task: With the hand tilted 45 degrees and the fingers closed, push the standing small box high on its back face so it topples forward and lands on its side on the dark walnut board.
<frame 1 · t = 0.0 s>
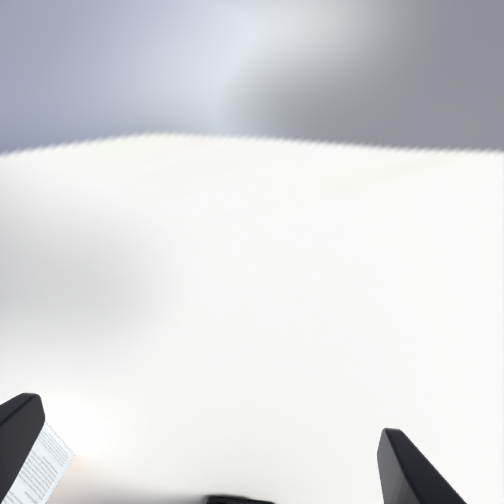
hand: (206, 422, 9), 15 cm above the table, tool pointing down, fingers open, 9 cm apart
small box: (27, 443, 32), on the table
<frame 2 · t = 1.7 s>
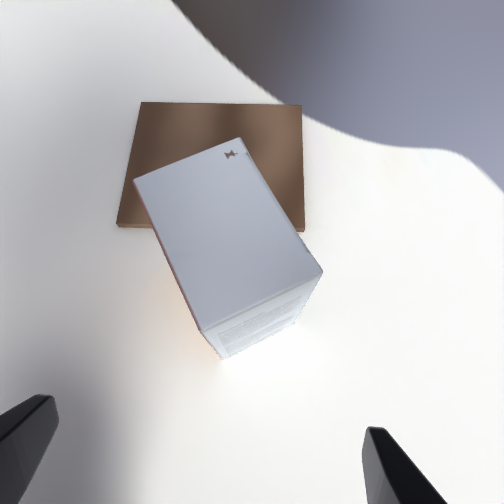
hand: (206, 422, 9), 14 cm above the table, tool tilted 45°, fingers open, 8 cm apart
walnut board: (216, 164, 29), on the table
small box: (234, 292, 25), on the table
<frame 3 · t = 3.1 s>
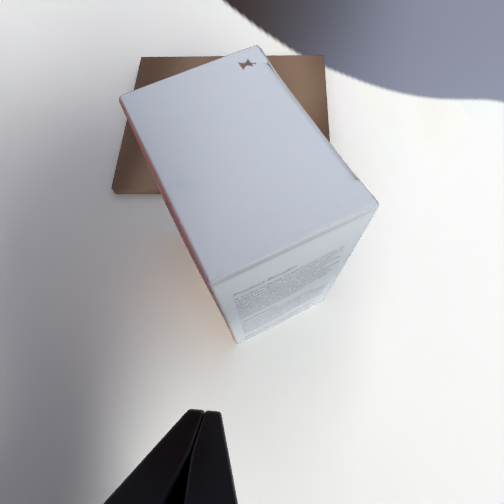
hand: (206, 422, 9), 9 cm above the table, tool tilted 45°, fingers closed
walnut board: (227, 122, 25), on the table
small box: (250, 265, 21), on the table
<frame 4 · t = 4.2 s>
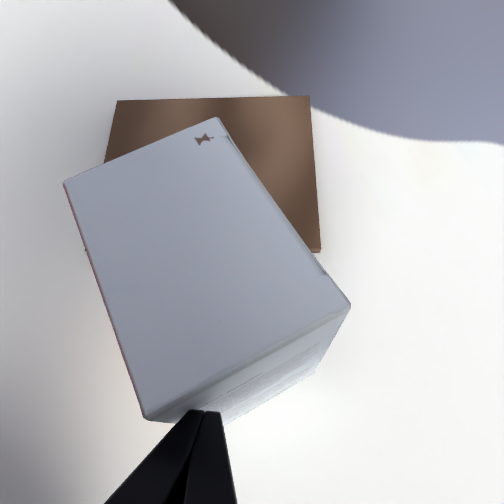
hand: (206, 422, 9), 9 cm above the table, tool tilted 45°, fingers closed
walnut board: (208, 171, 24), on the table
small box: (233, 333, 19), on the table, touching gripper
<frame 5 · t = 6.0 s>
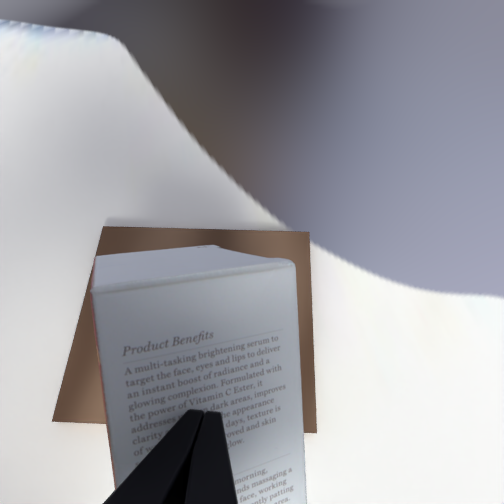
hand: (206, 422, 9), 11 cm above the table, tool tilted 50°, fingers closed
walnut board: (197, 318, 22), on the table
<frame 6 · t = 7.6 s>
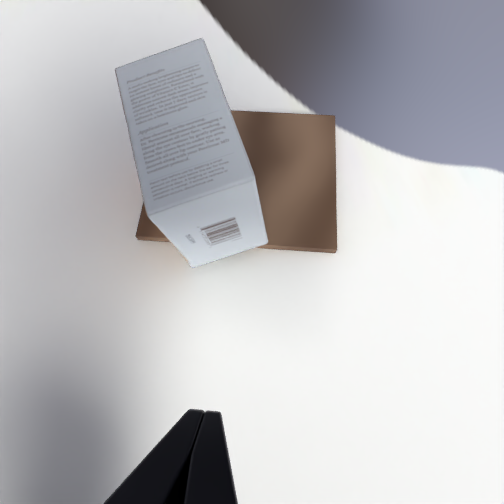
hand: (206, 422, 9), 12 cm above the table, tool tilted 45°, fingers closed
walnut board: (243, 175, 27), on the table
small box: (219, 235, 20), point 5 cm above the table, touching walnut board
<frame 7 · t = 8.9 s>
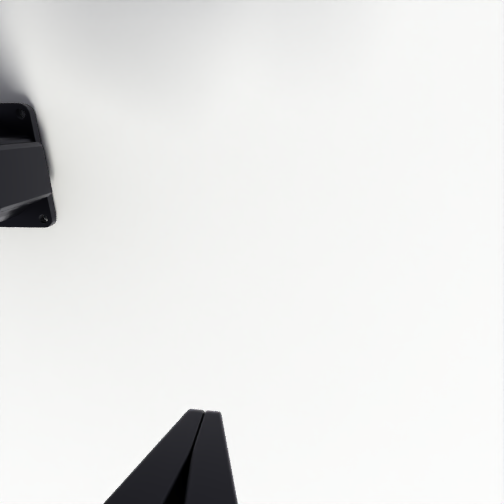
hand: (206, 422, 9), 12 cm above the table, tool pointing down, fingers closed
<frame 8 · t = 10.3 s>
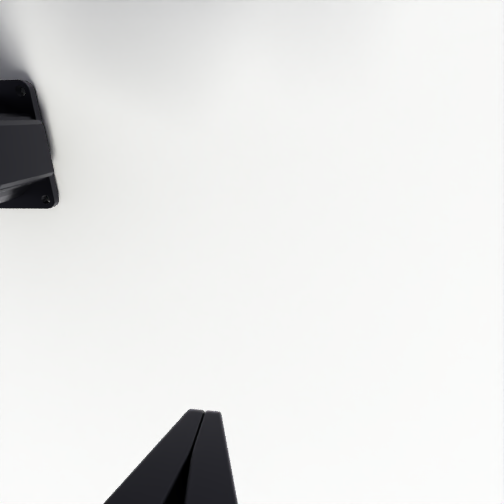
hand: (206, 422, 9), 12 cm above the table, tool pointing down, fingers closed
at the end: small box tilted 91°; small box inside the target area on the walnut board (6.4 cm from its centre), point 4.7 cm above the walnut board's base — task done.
